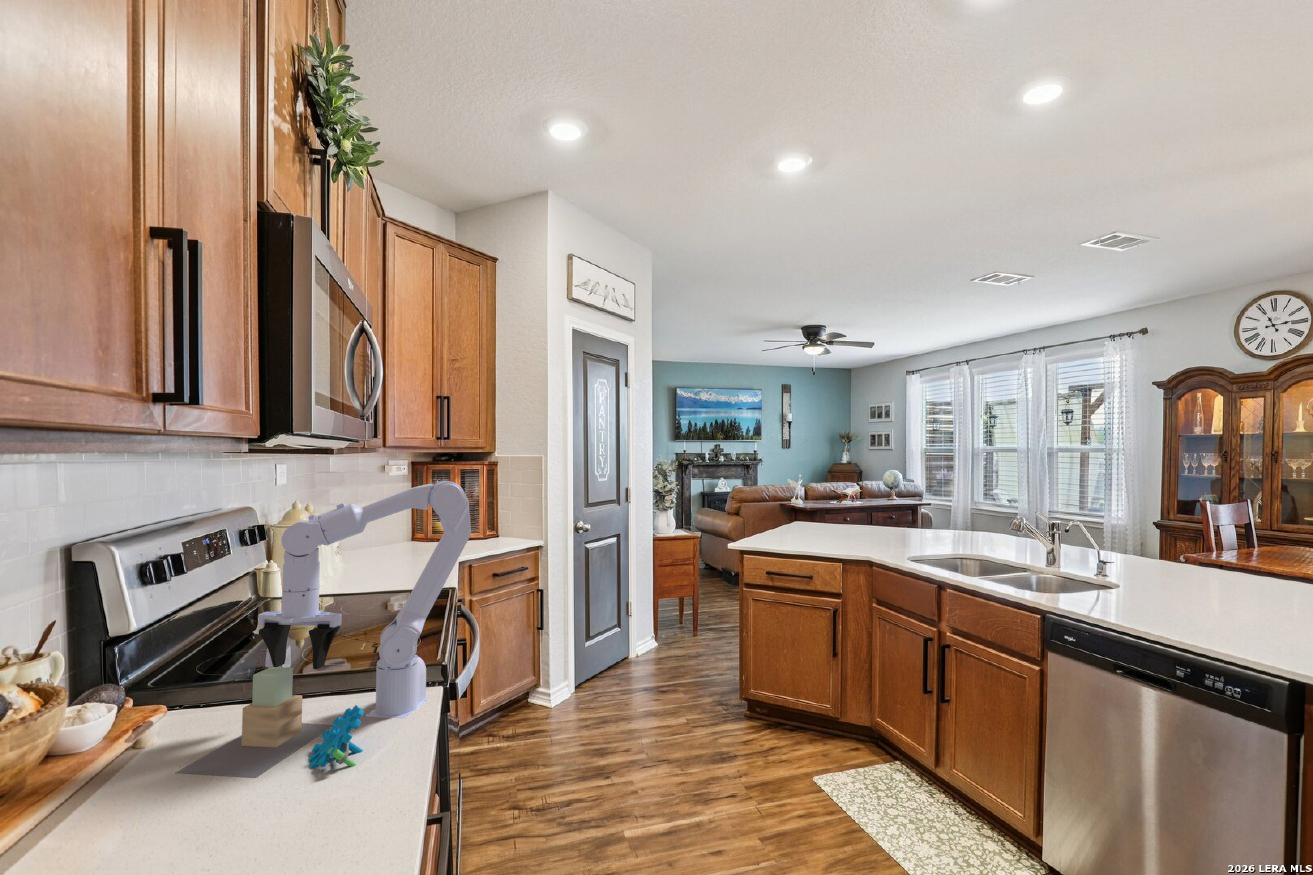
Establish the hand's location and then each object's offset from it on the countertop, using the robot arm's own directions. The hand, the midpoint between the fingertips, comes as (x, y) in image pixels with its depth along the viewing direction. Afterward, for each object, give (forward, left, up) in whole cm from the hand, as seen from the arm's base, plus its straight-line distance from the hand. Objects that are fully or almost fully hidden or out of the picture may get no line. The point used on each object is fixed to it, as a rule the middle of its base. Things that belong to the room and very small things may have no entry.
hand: (298, 666), depth 107 cm
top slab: (+6, 0, -7) cm, 9 cm away
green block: (+6, 0, -4) cm, 7 cm away
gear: (+11, +15, -11) cm, 21 cm away
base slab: (+6, 0, -10) cm, 11 cm away
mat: (+9, +1, -10) cm, 14 cm away
